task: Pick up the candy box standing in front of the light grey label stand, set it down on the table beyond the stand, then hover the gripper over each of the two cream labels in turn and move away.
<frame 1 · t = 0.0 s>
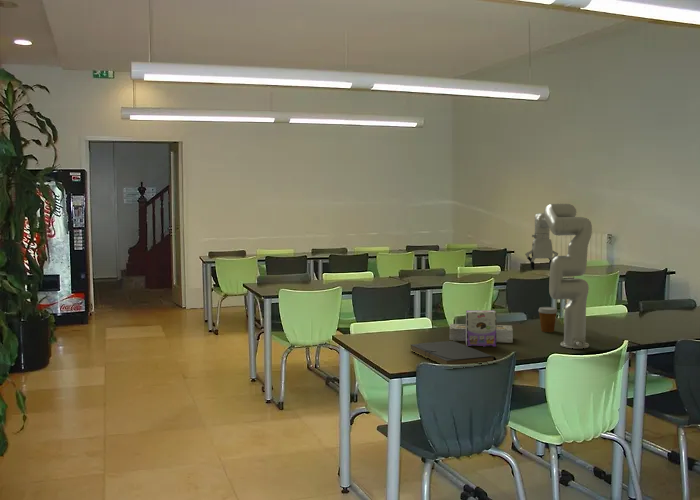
hand: (541, 269, 354), 31 cm above the table, tool pointing down, fingers open, 9 cm apart
label stand: (480, 339, 329), on the table
file folder: (451, 358, 294), on the table
candy box: (480, 345, 316), on the table
disposable coffee cup: (547, 331, 347), on the table
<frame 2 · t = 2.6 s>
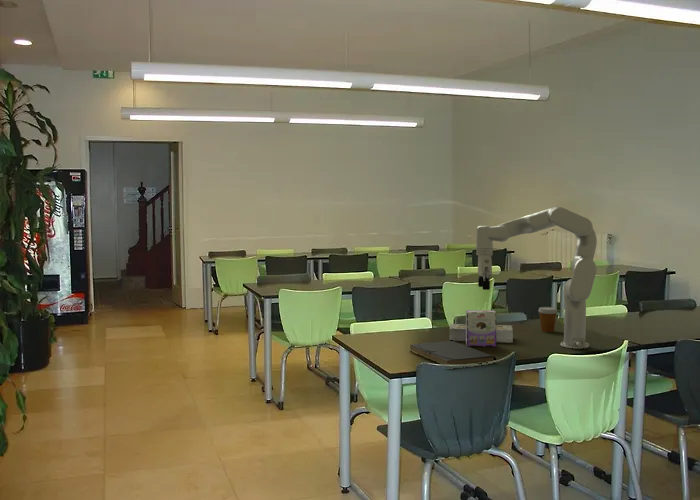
hand: (483, 288, 315), 27 cm above the table, tool pointing down, fingers open, 9 cm apart
nothing on the table moved.
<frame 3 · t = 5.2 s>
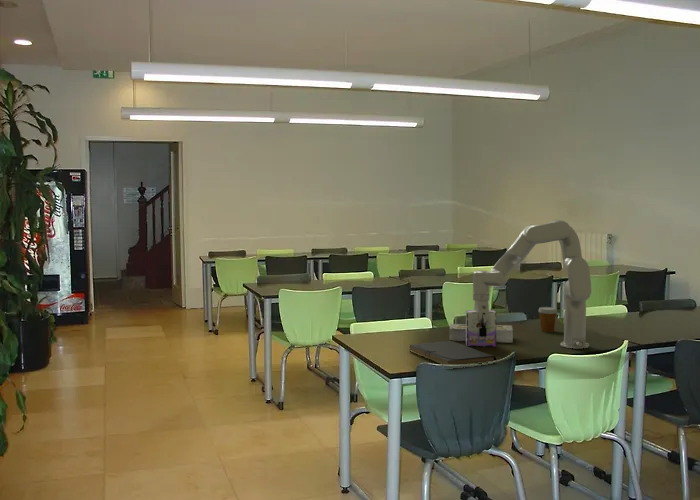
hand: (480, 334, 315), 5 cm above the table, tool pointing down, fingers closed on candy box, 6 cm apart
candy box: (480, 345, 316), on the table, touching gripper
everything else where it was.
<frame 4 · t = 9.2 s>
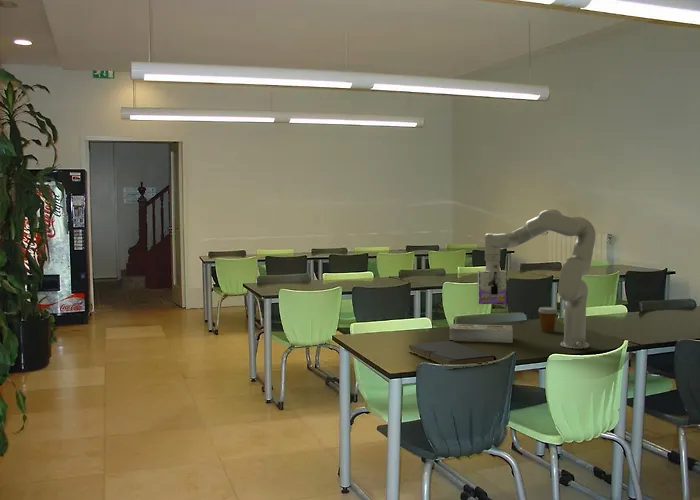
hand: (492, 293, 336), 22 cm above the table, tool pointing down, fingers closed on candy box, 6 cm apart
candy box: (492, 303, 336), point 16 cm above the table, touching gripper
everything else where it was.
when the fingers open (6 cm above the table, at t = 13.2 s): candy box drops 1 cm, on the table.
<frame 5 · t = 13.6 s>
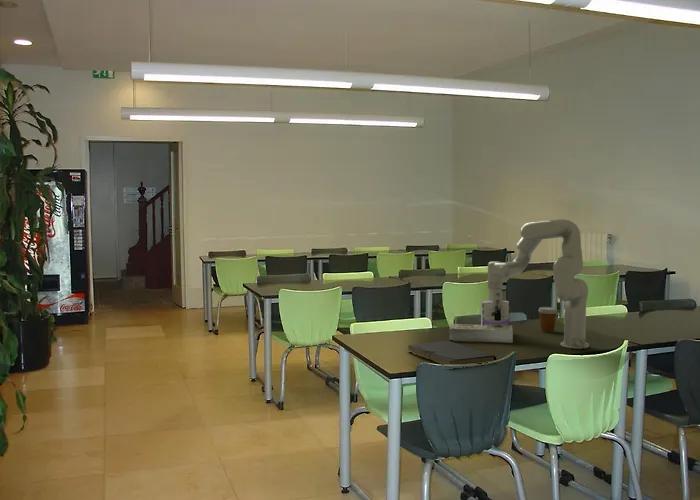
hand: (494, 318, 343), 7 cm above the table, tool pointing down, fingers open, 9 cm apart
candy box: (495, 333, 344), on the table
everything else where it was.
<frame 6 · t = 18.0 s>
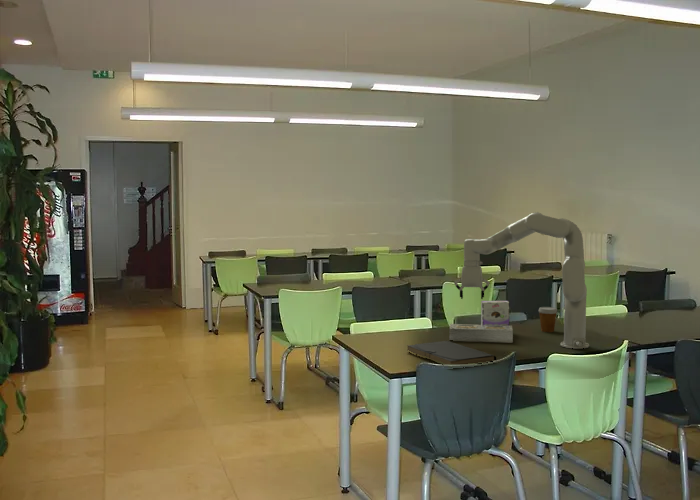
hand: (471, 298, 329), 20 cm above the table, tool pointing down, fingers open, 9 cm apart
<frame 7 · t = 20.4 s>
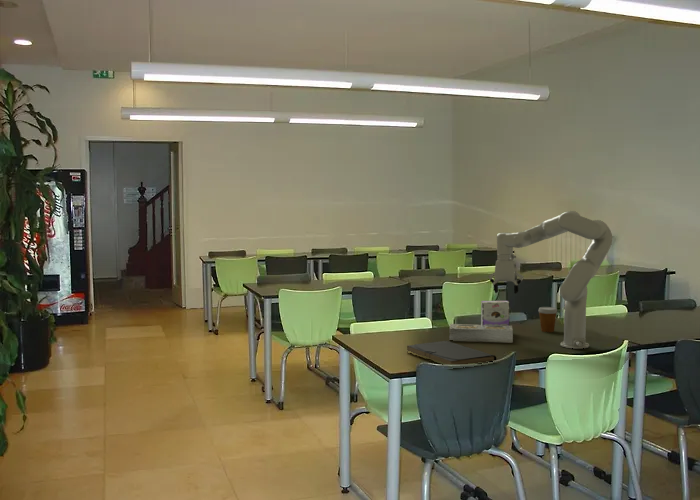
hand: (506, 292, 327), 23 cm above the table, tool pointing down, fingers open, 9 cm apart
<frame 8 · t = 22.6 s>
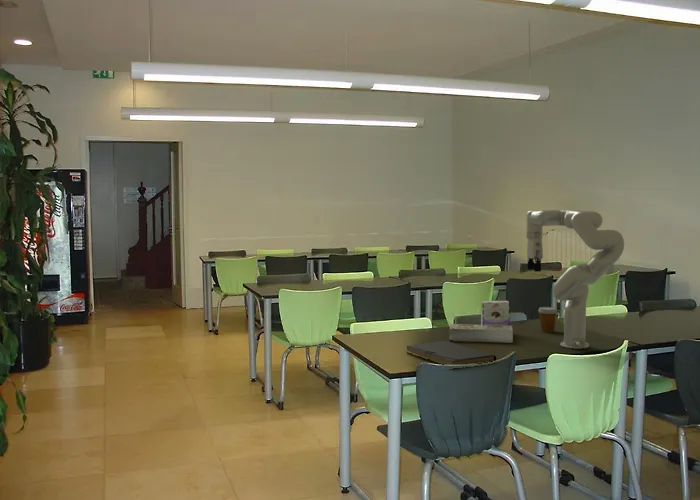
hand: (534, 270, 330), 33 cm above the table, tool pointing down, fingers open, 9 cm apart
at the end: candy box inside the target area (0.1 cm from its centre), on the table; candy box tilted 0°; the gripper is holding nothing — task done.
